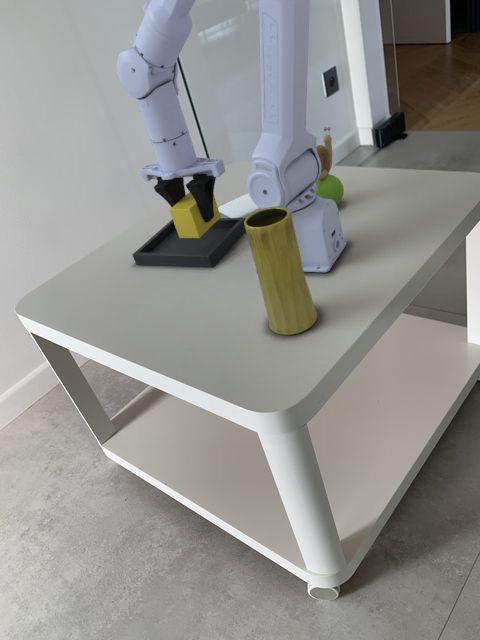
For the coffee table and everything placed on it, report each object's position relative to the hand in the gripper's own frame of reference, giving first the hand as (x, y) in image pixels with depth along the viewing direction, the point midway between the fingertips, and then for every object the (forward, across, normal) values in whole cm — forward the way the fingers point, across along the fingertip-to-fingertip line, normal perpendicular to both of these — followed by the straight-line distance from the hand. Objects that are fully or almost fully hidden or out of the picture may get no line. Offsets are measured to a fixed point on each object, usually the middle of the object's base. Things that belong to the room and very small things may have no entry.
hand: (197, 219), depth 89 cm
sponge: (+1, 0, 0) cm, 1 cm away
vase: (+5, +24, -18) cm, 30 cm away
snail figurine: (+5, +17, +14) cm, 23 cm away
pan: (+5, -3, 0) cm, 6 cm away
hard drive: (+5, +2, +14) cm, 15 cm away
